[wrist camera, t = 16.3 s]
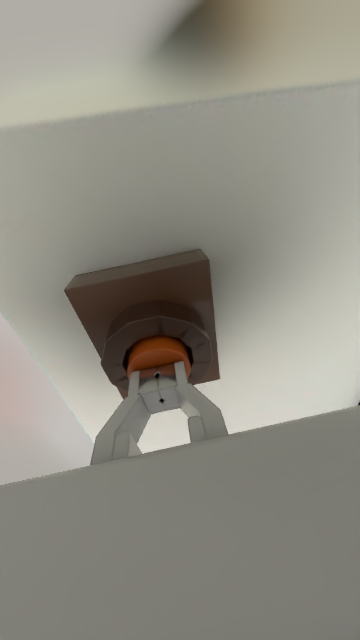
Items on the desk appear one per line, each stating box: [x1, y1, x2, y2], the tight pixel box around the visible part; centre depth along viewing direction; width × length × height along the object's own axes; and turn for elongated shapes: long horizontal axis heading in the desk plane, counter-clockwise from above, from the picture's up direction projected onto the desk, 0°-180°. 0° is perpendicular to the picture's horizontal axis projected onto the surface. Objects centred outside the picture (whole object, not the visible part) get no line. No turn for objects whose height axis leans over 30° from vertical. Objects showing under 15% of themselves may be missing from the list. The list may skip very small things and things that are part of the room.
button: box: [127, 335, 191, 380], centre depth 12 cm, size 4×4×2 cm
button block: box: [64, 249, 220, 399], centre depth 14 cm, size 10×8×4 cm
